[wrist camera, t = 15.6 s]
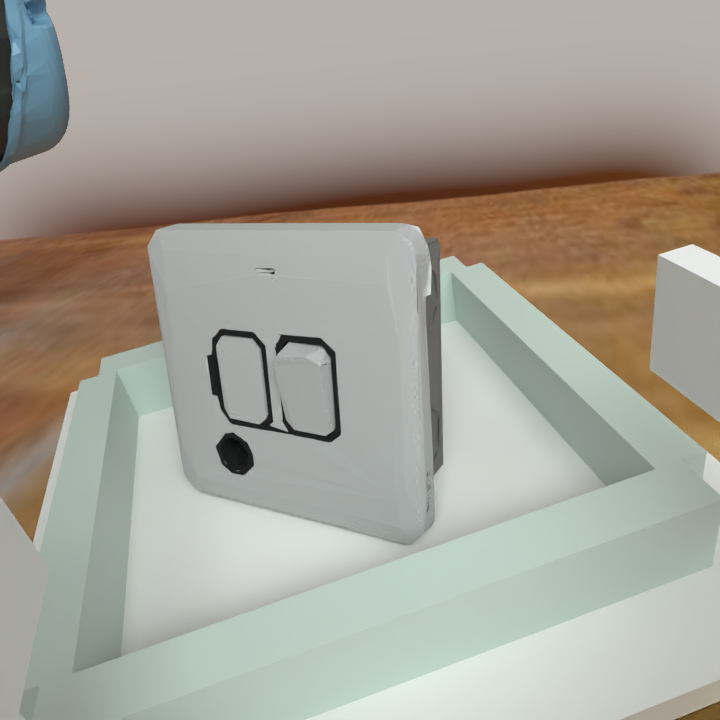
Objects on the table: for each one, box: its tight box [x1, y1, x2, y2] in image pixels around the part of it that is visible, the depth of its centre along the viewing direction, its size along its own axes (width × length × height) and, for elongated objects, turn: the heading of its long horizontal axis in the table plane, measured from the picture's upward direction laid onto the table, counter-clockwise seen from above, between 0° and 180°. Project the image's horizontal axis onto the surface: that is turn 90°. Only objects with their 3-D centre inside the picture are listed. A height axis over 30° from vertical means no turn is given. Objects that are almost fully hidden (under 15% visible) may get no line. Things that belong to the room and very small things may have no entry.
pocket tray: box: [17, 256, 720, 720], centre depth 22 cm, size 22×22×4 cm
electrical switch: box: [147, 223, 443, 544], centre depth 20 cm, size 9×5×9 cm, turn 64°
